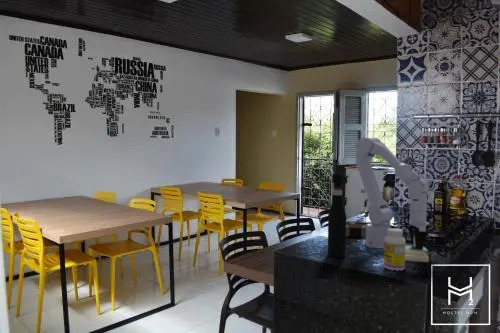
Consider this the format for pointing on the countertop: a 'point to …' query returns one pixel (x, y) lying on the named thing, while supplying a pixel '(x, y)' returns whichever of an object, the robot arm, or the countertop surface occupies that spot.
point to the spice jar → (414, 241)
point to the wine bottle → (337, 221)
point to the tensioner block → (417, 249)
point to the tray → (416, 256)
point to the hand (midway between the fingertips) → (417, 246)
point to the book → (356, 229)
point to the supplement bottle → (394, 250)
